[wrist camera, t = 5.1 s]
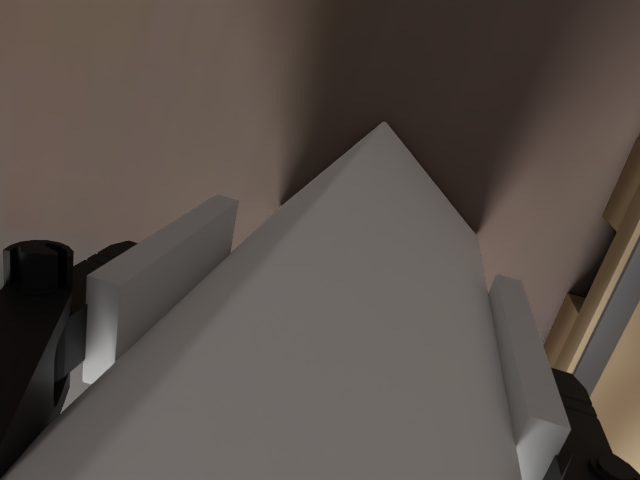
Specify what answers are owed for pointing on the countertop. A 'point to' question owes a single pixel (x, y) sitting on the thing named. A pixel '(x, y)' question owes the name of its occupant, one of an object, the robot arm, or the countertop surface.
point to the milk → (311, 351)
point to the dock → (609, 324)
